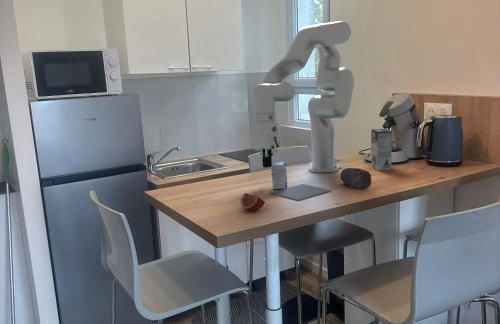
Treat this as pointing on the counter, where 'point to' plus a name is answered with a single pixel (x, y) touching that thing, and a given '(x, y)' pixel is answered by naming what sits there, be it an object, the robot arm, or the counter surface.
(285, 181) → the medicine box
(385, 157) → the coffee box
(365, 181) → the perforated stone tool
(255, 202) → the fruit slice
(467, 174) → the counter surface
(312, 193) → the mat
